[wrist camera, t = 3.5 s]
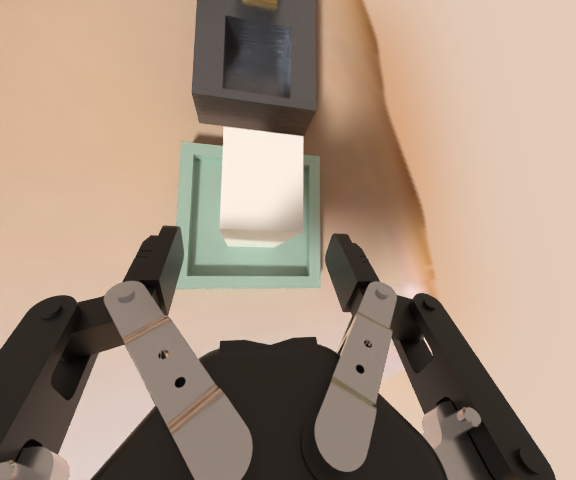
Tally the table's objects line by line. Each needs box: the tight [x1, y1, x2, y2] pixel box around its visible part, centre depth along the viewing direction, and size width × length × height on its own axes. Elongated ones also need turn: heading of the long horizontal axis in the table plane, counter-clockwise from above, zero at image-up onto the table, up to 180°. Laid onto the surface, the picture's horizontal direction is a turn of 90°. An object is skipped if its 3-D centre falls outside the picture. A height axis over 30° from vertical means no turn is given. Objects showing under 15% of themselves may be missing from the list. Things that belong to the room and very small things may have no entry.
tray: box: [176, 142, 321, 289], centre depth 22 cm, size 12×12×2 cm
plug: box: [219, 127, 303, 248], centre depth 17 cm, size 4×5×10 cm
